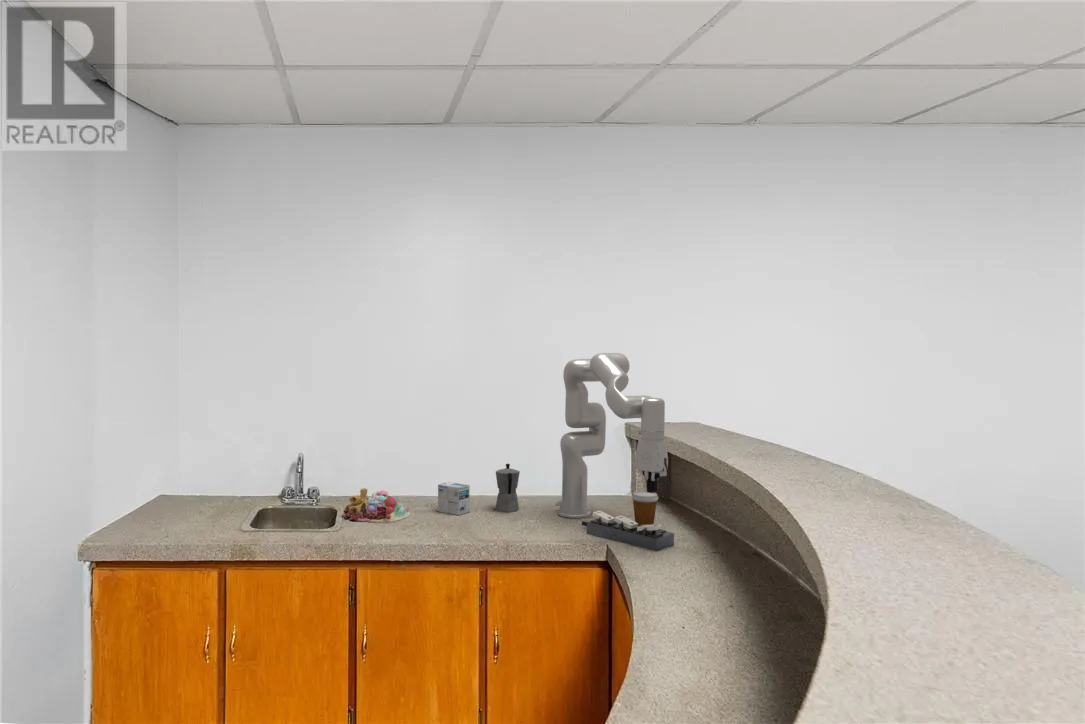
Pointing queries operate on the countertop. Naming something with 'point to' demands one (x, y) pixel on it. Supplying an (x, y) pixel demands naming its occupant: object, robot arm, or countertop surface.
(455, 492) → the light bulb box
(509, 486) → the coffeepot
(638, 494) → the disposable coffee cup
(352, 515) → the candy landscape model
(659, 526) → the rocker
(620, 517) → the rocker
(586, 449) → the robot arm
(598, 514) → the rocker
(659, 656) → the countertop surface
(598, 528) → the power strip
